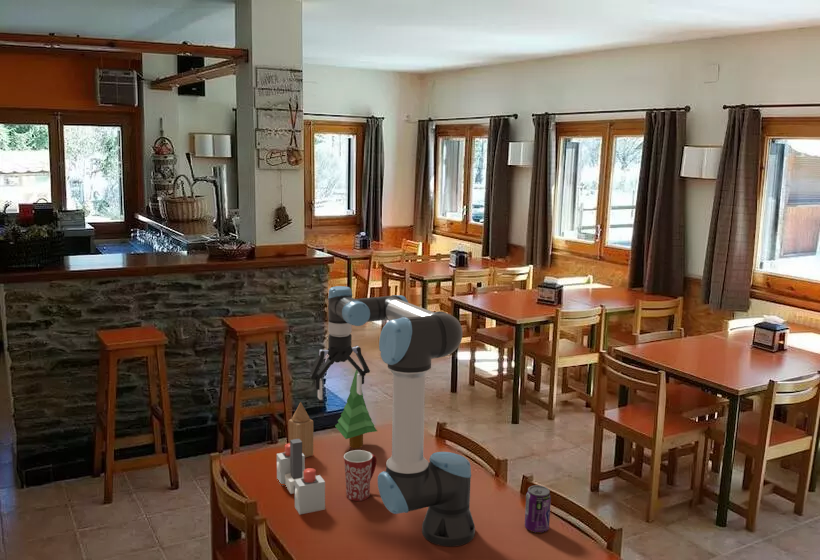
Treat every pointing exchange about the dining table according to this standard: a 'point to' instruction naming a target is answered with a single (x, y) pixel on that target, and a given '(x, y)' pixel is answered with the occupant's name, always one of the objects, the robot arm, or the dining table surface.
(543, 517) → the beverage can
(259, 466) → the dining table surface
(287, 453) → the red push button
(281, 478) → the far cabinet
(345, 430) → the decorative tree
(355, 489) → the mug
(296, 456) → the dark grey tall block
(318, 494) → the near cabinet
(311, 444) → the decorative item
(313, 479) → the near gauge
